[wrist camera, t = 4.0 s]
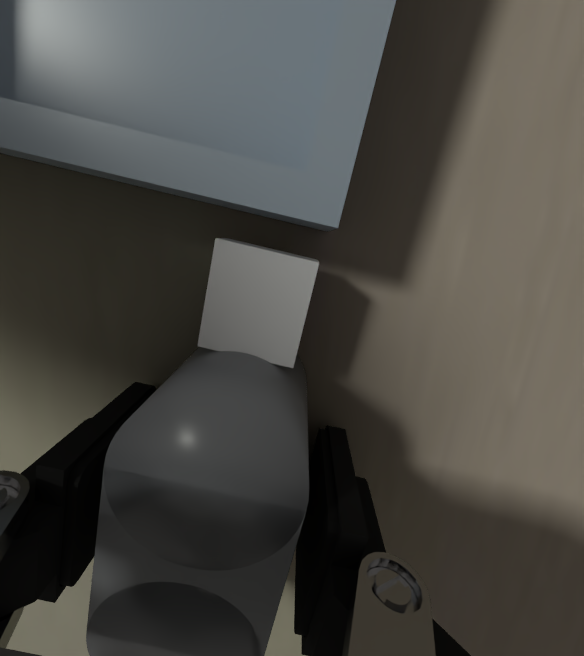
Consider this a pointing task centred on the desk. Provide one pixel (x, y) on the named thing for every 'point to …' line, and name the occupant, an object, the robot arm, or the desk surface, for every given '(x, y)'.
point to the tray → (197, 96)
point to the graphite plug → (211, 475)
